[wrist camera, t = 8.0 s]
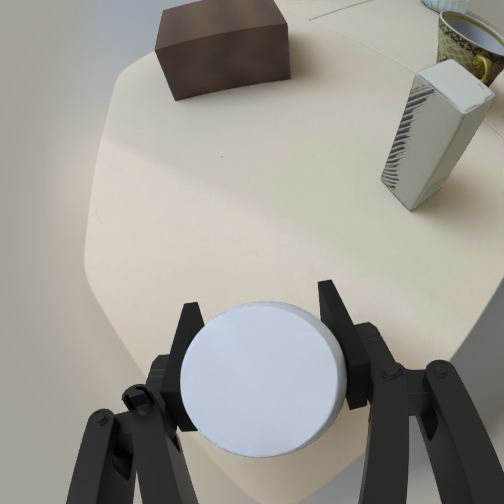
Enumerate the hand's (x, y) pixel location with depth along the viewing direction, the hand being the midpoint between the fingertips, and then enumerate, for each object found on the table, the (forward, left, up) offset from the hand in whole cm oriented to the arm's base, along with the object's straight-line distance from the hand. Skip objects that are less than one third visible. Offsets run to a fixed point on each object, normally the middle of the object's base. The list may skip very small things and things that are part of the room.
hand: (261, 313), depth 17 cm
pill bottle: (0, -4, -4) cm, 5 cm away
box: (+15, +10, -7) cm, 20 cm away
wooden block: (0, +33, -7) cm, 34 cm away
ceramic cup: (+29, +23, -7) cm, 38 cm away
